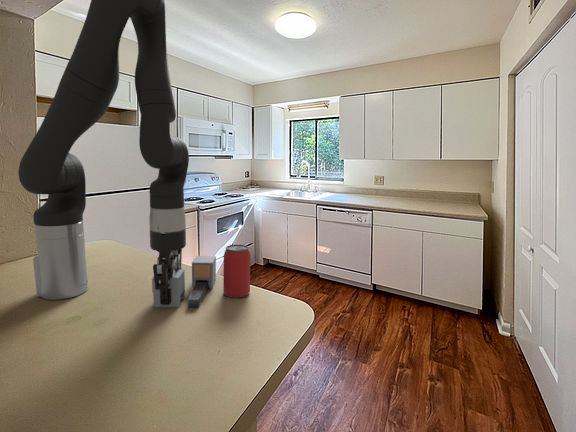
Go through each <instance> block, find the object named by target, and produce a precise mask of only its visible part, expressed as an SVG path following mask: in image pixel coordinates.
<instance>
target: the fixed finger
mask: <svg viewBox="0 0 576 432" xmlns="http://www.w3.org/2000/svg"><path fill="white" fill-rule="evenodd" d="M216 257H217V256H216V255H196V256H195V257H194V259H193V260H192V261H191V288H192V290H193V289H194V287H195V285H196V283H197V281H198V280H209V286H208V289H209V290H210V289H214V286H215V284H216V281H217V258H216Z"/></svg>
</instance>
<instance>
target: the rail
mask: <svg viewBox="0 0 576 432" xmlns="http://www.w3.org/2000/svg"><path fill="white" fill-rule="evenodd" d="M208 289H209V280H198V281H197V283H196V285H195V287H194V289H192V291H191V292H190V295H189V296H188V299H187V308H188V309H192V308H193V309H195V308H196V309H200V306H201V303H202V302H203V299H204V296H205V294H206V292H207V290H208Z"/></svg>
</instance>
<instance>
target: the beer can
mask: <svg viewBox="0 0 576 432" xmlns="http://www.w3.org/2000/svg"><path fill="white" fill-rule="evenodd" d="M251 259H252V258H251V254H250V250H249V246H247V245H245V244H229V245H227V246H225V250H224V254H223V278H222V279H223V283H222V284H223V285H222V286H223V287H222V288H223V294H224V295H225V296H226V297H229V298H231V299H232V298H233V299H234V298H235V299H238V298H239V299H240V298H245V297H246V296H247V295H248V294H249V293H250V292H251Z"/></svg>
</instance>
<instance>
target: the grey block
mask: <svg viewBox="0 0 576 432" xmlns="http://www.w3.org/2000/svg"><path fill="white" fill-rule="evenodd" d="M167 274H170V273H167ZM185 277H186V276H185V269H181V270H175V273H174V277H173V278H172V279H171V303H170V304H169V305H162V304H161V303H160V289H158V290H156V289H155V281H154V275H153V277H152V278H151V290H152V291H151V292H152V296H153V308H180V307H181V300H184V299H185V298H186V289H185V287H186V286H185V285H186V283H185V280H186V279H185ZM162 283H164V281H162Z"/></svg>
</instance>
